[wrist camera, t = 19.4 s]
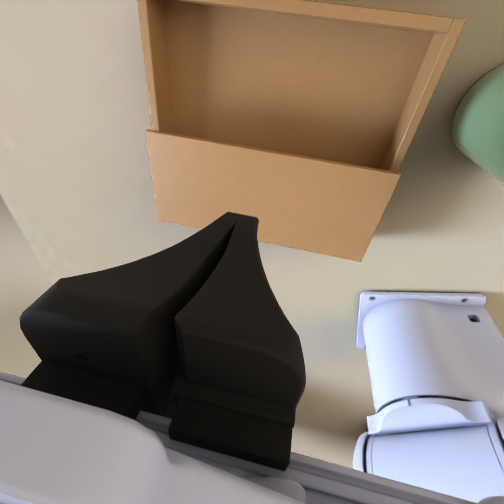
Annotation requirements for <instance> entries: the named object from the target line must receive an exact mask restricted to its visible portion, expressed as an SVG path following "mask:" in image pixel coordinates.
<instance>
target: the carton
mask: <svg viewBox="0 0 504 504" xmlns="http://www.w3.org/2000/svg"><path fill="white" fill-rule="evenodd" d="M137 2H138V11H139V19H140V28H141V37H142V45H143V54H144V63H145V71H146V80H147V89H148V97H149V106H150V115H151V123H152V130H156V131H162V132H167V133H173V134H179V135H185V136H191V137H196V138H202V139H208V140H214V141H219V142H225V143H231V144H237V145H243V146H248V147H254V148H260V149H266V150H272V151H277V152H283V153H289V154H295V155H301V156H306V157H312V158H318V159H324V160H330V161H335V162H341V163H347V164H353V165H358V166H364V167H370V168H376V169H382V170H387V171H393V172H398V170H399V168H400V166H401V164H402V161H403V159H404V157H405V155H406V153H407V150H408V148H409V146H410V144H411V142H412V139H413V137H414V135H415V133H416V130H417V128H418V126H419V124H420V122H421V119H422V117H423V115H424V113H425V111H426V108H427V106H428V104H429V102H430V100H431V97H432V95H433V93H434V91H435V88H436V86H437V84H438V82H439V80H440V77H441V75H442V73H443V71H444V69H445V66H446V64H447V62H448V60H449V57H450V55H451V53H452V51H453V49H454V46H455V44H456V42H457V40H458V38H459V35H460V33H461V31H462V29H463V27H464V24H465V22H466V19H458V18H450V17H441V16H433V15H425V14H417V13H408V12H400V11H392V10H383V9H375V8H367V7H358V6H350V5H342V4H333V3H325V2H317V1H308V0H137Z"/></svg>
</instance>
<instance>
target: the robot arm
mask: <svg viewBox="0 0 504 504" xmlns="http://www.w3.org/2000/svg"><path fill="white" fill-rule="evenodd" d="M258 225H259V219H258V218H257V217H253V216H248V215H243V214H238V213H233V212H227V213H225V214H223V215H222V216H221V217H219V218H218V219H216V220H215V221H213V222H212V223H211V224H209V225H208V226H206V227H205V228H203V229H202V230H200V231H199V232H197V233H195V234H194V235H192V236H190V237H189V238H187V239H185V240H183V241H182V242H180V243H178V244H176V245H174V246H172V247H170V248H167V249H165V250H163V251H161V252H158V253H156V254H153V255H151V256H148V257H145V258H142V259H140V260H137V261H134V262H131V263H128V264H124V265H121V266H117V267H114V268H110V269H106V270H102V271H98V272H93V273H88V274H83V275H78V276H73V277H68V278H62V279H60V280H58V281H57V282H56V283H55V284H54V285H53V286H52V287H50V288H49V289H48V290H47V291H46V292H45V293H44V294H43V295H41V296H40V297H39V298H38V299H37V300H36V301H35V302H34V303H33V304H32V305H31V306H30V307H28V308H27V309H26V310H25V311H24V312H23V313H22V315H21V316H20V327H21V330H22V332H23V334H24V335H25V337H26V338H27V340H28V341H29V343H30V344H31V346H32V347H33V349H34V350H35V351H36V353H37V354H38V356H39V357H40V359H41V360H42V361H41V363H40V364H39V365H38V366H37V367H36V368H35V369H34V371H33V372H32V373H31V374H30V375H29V376H28V377H27V378H26V379H25V378H21V377H18V376H14V375H11V374H7V373H3V372H0V504H504V338H503V336H502V335H501V333H500V331H499V330H498V328H497V327H496V325H495V323H494V322H493V320H492V318H491V317H490V315H489V313H488V312H487V310H486V309H485V307H484V305H485V303H486V301H487V299H486V297H485V296H484V295H483V294H473V293H419V292H362V293H361V294H360V302H359V315H358V327H357V340H356V345H357V347H358V348H360V349H366V352H367V359H368V366H369V373H370V380H371V387H372V394H373V401H374V408H375V415H371V416H367V423H368V431H369V432H364V433H363V434H361V435H360V437H359V438H358V441H357V443H356V448H355V451H354V456H353V469H352V468H348V467H344V466H341V465H337V464H333V463H330V462H326V461H323V460H319V459H315V458H312V457H308V456H304V455H301V454H297V453H294V452H291V439H292V428H293V427H294V423H295V412H296V407H297V405H298V402H299V400H300V398H301V396H302V394H303V392H304V389H305V384H306V374H305V364H304V358H303V353H302V348H301V343H300V339H299V336H298V334H297V333H296V331H295V330H294V328H293V327H292V326H291V324H290V323H289V321H288V319H287V318H286V316H285V315H284V313H283V311H282V309H281V308H280V306H279V304H278V302H277V300H276V298H275V296H274V294H273V292H272V290H271V288H270V285H269V283H268V280H267V278H266V275H265V272H264V269H263V266H262V262H261V258H260V253H259V248H258V240H257V232H258ZM372 296H374V297H372Z"/></svg>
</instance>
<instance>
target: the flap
mask: <svg viewBox="0 0 504 504" xmlns="http://www.w3.org/2000/svg"><path fill="white" fill-rule="evenodd" d="M146 136H147V144H148V151H149V159H150V166H151V174H152V181H153V189H154V196H155V204H156V211H157V219H158V221H163V222H168V223H173V224H178V225H183V226H188V227H193V228H197V229H203V228H205V227H206V226H208V225H209V224H211V223H212V222H213V221H215V220H216V219H218V218H219V217H221V216H222V215H223V214H225V213H227V212H233V213H238V214H243V215H248V216H253V217H257V218H258V219H259V225H258V232H257V240H258V241H261V242H266V243H271V244H276V245H281V246H286V247H290V248H295V249H300V250H305V251H310V252H315V253H320V254H325V255H330V256H334V257H339V258H344V259H349V260H354V261H359V262H361V260H362V258H363V256H364V254H365V252H366V250H367V247H368V245H369V243H370V241H371V239H372V237H373V235H374V232H375V230H376V228H377V226H378V224H379V222H380V220H381V217H382V215H383V213H384V211H385V209H386V207H387V205H388V203H389V200H390V198H391V196H392V194H393V192H394V190H395V188H396V185H397V183H398V181H399V179H400V177H401V174H400V173H399V172H393V171H387V170H382V169H376V168H370V167H364V166H358V165H353V164H347V163H341V162H335V161H330V160H324V159H318V158H312V157H306V156H301V155H295V154H289V153H283V152H277V151H272V150H266V149H260V148H254V147H248V146H243V145H237V144H231V143H225V142H219V141H214V140H208V139H202V138H196V137H191V136H185V135H179V134H173V133H167V132H162V131H156V130H150V129H149V130H147V131H146Z"/></svg>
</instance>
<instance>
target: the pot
mask: <svg viewBox="0 0 504 504" xmlns="http://www.w3.org/2000/svg"><path fill="white" fill-rule="evenodd" d="M452 136H453V140H454V143H455V145H456V147H457V148H458V149H459V151H461V152H462V153H463V154H464V155H465V156H467V157H468V158H469V159H470V160H472V161H473V162H474V163H475V164H477V165H478V166H479V167H481V168H482V169H483V170H484V171H486V172H487V173H488V174H489V175H491V176H492V177H493V178H494V179H496V180H497V181H498V182H499V183H501V184H502V185H503V186H504V64H502V65H500V66H498V67H497V68H495V69H493V70H492V71H490V72H489V73H487V74H486V75H485V76H483V77H482V78H481V79H480V80H479V81H478V82H476V83H475V84H474V85H473V86H472V87H471V89H470V90H469V91H468V92H467V93H466V95H465V96H464V98H463V99H462V101H461V102H460V104H459V106H458V108H457V110H456V112H455V115H454V119H453V123H452Z"/></svg>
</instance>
